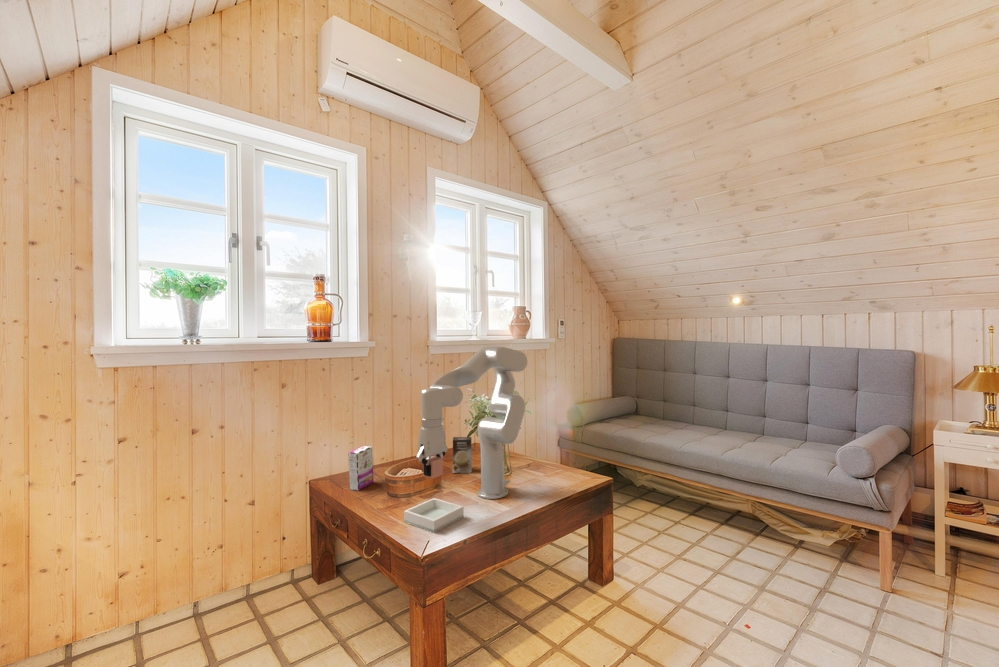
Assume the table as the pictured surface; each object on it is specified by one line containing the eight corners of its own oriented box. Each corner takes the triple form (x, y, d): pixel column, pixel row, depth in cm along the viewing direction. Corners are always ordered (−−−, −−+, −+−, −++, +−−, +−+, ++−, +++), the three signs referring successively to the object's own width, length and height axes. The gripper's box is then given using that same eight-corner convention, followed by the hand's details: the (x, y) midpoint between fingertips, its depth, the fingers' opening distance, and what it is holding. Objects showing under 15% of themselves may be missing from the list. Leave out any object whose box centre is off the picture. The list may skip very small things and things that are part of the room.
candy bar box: (364, 481, 204) (363, 445, 204) (373, 482, 202) (373, 446, 202) (348, 490, 193) (347, 452, 193) (358, 491, 191) (357, 452, 191)
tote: (434, 508, 171) (433, 497, 171) (463, 517, 162) (463, 506, 162) (404, 522, 159) (403, 511, 159) (434, 533, 150) (433, 521, 150)
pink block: (433, 472, 164) (432, 455, 164) (443, 474, 161) (442, 457, 161) (423, 475, 160) (422, 459, 160) (433, 478, 157) (432, 461, 157)
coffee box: (452, 474, 212) (451, 440, 212) (453, 469, 218) (452, 437, 218) (471, 473, 212) (471, 439, 212) (472, 469, 219) (471, 436, 218)
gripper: (441, 417, 170) (442, 465, 170) (406, 426, 156) (407, 478, 156) (455, 419, 165) (456, 469, 165) (421, 428, 151) (422, 482, 152)
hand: (433, 472), depth 161 cm, fingers closed on pink block, 5 cm apart
